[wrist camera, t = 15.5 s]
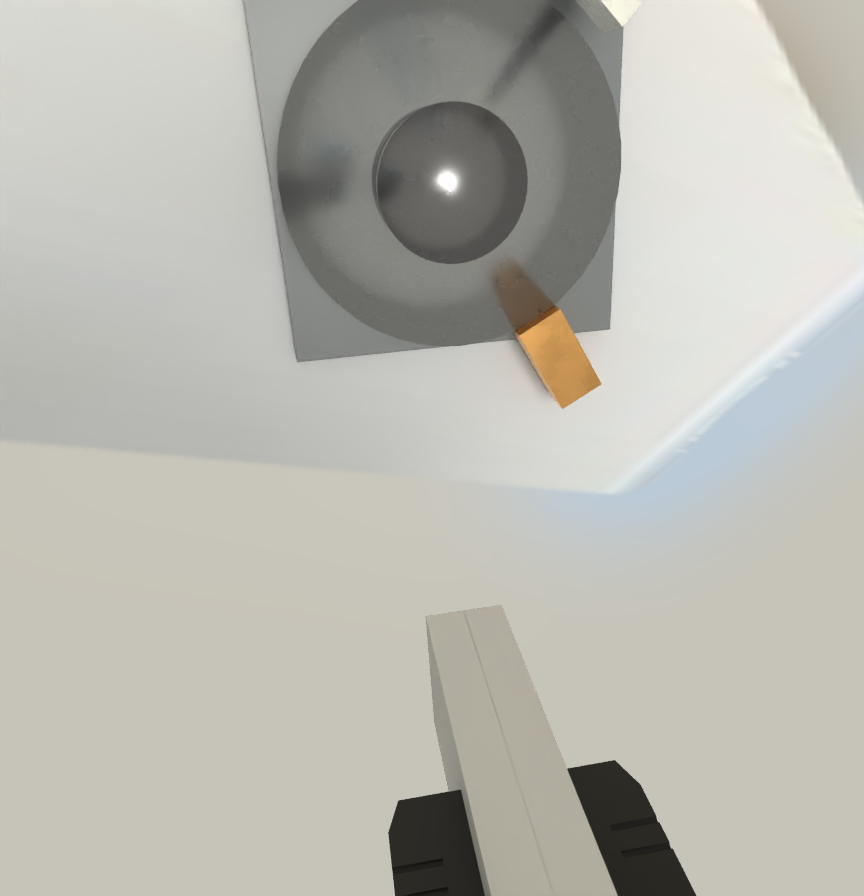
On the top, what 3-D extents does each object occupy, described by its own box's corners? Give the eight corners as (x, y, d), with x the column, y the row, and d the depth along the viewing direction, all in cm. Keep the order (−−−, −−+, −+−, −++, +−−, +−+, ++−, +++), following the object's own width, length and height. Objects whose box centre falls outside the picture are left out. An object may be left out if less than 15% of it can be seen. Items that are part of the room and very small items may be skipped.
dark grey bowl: (422, 279, 43) (432, 293, 39) (343, 161, 39) (346, 164, 36) (533, 200, 42) (554, 207, 38) (461, 72, 38) (477, 66, 35)
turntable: (448, 462, 50) (454, 477, 47) (203, 116, 39) (197, 115, 37) (696, 303, 48) (714, 311, 45) (512, -109, 37) (524, -124, 35)
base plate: (297, 358, 46) (297, 362, 45) (241, -23, 37) (239, -26, 37) (605, 326, 48) (609, 329, 48) (620, -39, 40) (626, -42, 39)
